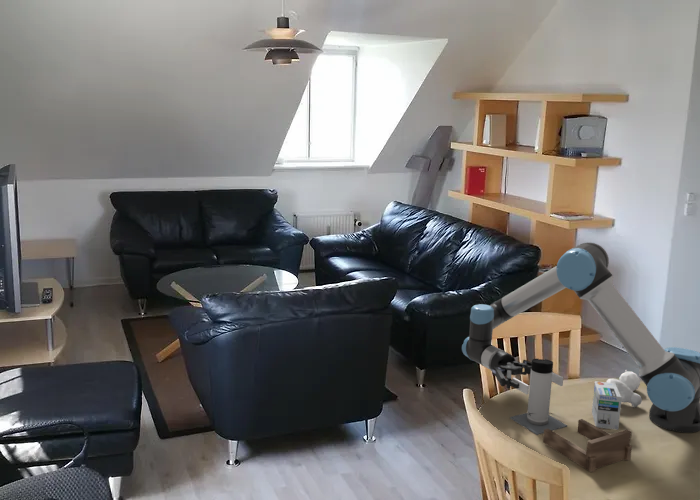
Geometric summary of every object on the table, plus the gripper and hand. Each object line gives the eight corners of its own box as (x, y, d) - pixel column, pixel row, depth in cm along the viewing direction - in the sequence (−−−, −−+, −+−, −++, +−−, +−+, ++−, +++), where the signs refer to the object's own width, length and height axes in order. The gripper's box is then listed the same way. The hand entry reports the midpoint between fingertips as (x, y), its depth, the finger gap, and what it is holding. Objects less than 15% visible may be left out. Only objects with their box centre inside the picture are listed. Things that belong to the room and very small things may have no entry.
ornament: (619, 393, 234) (613, 371, 237) (626, 394, 239) (620, 373, 242) (638, 388, 231) (631, 366, 234) (645, 389, 236) (638, 368, 238)
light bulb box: (618, 430, 209) (622, 397, 206) (595, 428, 210) (598, 394, 207) (613, 414, 219) (616, 382, 216) (590, 412, 220) (594, 380, 218)
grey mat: (539, 410, 220) (539, 409, 220) (567, 426, 210) (567, 425, 210) (509, 418, 215) (509, 417, 215) (537, 435, 205) (537, 434, 205)
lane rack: (542, 442, 201) (545, 416, 199) (580, 431, 208) (583, 406, 206) (591, 472, 185) (594, 444, 183) (630, 459, 192) (633, 432, 190)
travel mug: (527, 425, 210) (532, 362, 205) (526, 415, 216) (531, 354, 212) (548, 427, 209) (554, 364, 204) (547, 417, 215) (552, 356, 210)
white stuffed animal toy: (606, 374, 228) (644, 382, 225) (601, 397, 230) (638, 406, 227) (606, 381, 223) (645, 390, 219) (601, 405, 225) (640, 414, 221)
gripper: (527, 365, 233) (574, 389, 215) (467, 378, 221) (512, 405, 203) (528, 344, 231) (576, 367, 213) (468, 356, 220) (513, 381, 202)
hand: (545, 385), depth 208 cm, fingers open, 13 cm apart
